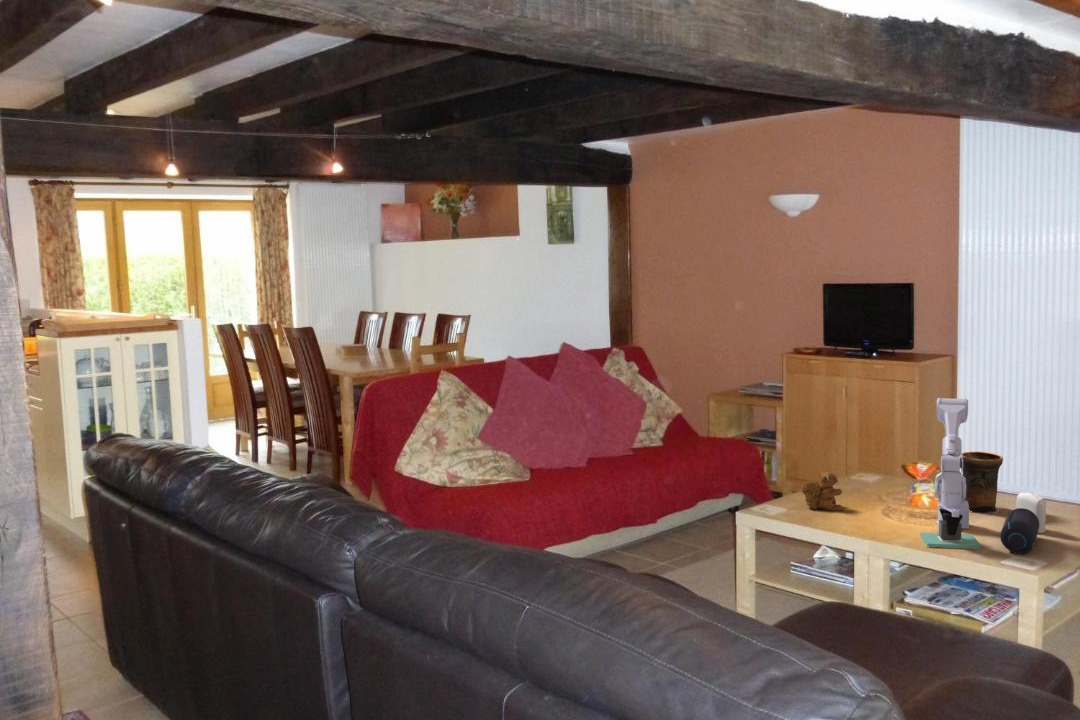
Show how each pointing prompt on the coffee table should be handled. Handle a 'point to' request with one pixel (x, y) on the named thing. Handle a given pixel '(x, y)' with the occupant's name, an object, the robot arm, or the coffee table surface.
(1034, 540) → the portable speaker
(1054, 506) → the coffee table surface
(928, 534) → the header board
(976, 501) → the vessel
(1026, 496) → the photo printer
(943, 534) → the plug housing
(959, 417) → the robot arm
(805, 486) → the stuffed squirrel
